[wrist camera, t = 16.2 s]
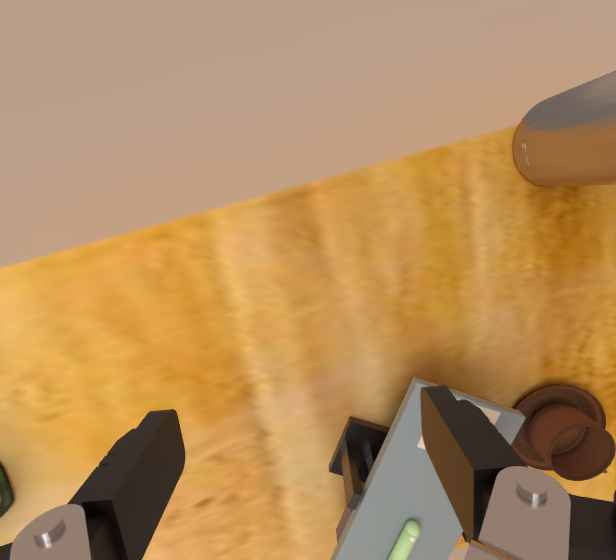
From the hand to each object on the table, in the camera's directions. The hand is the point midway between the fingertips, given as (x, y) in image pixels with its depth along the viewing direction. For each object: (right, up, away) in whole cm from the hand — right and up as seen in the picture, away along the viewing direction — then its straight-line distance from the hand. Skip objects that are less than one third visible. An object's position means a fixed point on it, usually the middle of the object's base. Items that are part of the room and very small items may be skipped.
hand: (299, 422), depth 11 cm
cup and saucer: (+31, -14, +34) cm, 49 cm away
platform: (+13, -18, +32) cm, 38 cm away
